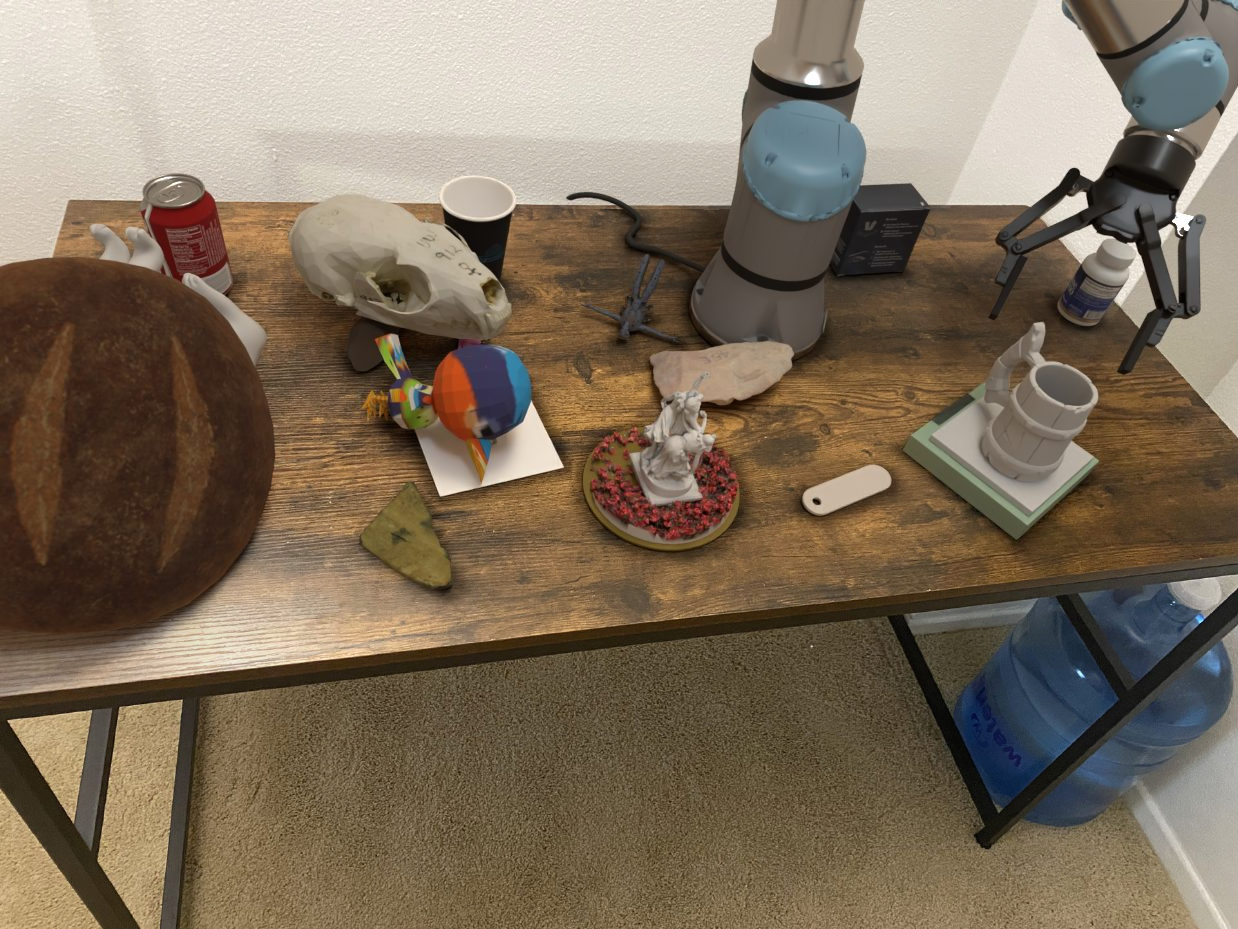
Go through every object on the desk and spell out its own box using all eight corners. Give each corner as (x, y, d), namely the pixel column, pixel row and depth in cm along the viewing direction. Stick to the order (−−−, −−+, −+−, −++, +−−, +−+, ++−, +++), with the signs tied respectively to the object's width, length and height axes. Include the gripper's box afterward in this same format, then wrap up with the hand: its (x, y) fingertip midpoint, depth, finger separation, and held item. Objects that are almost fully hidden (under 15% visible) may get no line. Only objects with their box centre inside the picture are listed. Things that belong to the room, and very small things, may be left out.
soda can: (247, 291, 98) (225, 193, 89) (188, 318, 94) (159, 218, 85) (211, 260, 100) (187, 161, 91) (152, 284, 97) (120, 184, 88)
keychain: (794, 496, 89) (812, 521, 88) (797, 493, 88) (814, 518, 87) (876, 464, 93) (894, 487, 92) (879, 460, 93) (897, 483, 91)
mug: (1003, 490, 89) (1064, 402, 80) (944, 402, 96) (994, 313, 87) (1069, 479, 91) (1136, 393, 82) (1006, 394, 98) (1061, 306, 89)
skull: (454, 397, 85) (454, 307, 78) (260, 292, 92) (244, 202, 85) (542, 326, 94) (549, 240, 87) (359, 236, 101) (353, 150, 94)
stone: (459, 590, 78) (460, 580, 76) (382, 613, 75) (381, 602, 74) (418, 486, 84) (418, 475, 83) (346, 503, 82) (344, 492, 81)
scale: (901, 449, 95) (912, 428, 93) (976, 395, 102) (988, 374, 100) (1016, 540, 89) (1031, 520, 87) (1087, 475, 96) (1103, 455, 94)
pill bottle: (1063, 293, 117) (1103, 228, 110) (1104, 313, 115) (1147, 248, 108) (1050, 313, 114) (1090, 248, 106) (1092, 333, 112) (1135, 269, 105)
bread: (271, 294, 80) (325, 288, 74) (252, 608, 80) (304, 626, 75) (-154, 219, 59) (-126, 202, 53) (-175, 646, 59) (-150, 676, 53)
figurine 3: (707, 420, 94) (738, 311, 84) (762, 536, 85) (806, 432, 75) (565, 438, 90) (579, 327, 79) (607, 563, 81) (630, 456, 70)
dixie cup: (496, 312, 101) (498, 227, 92) (428, 291, 101) (425, 205, 93) (522, 271, 106) (527, 187, 97) (458, 251, 107) (457, 167, 98)
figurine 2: (707, 278, 102) (707, 272, 97) (675, 360, 103) (673, 358, 98) (607, 239, 103) (601, 232, 98) (576, 321, 104) (569, 317, 99)
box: (885, 245, 119) (912, 181, 112) (904, 273, 115) (933, 208, 108) (819, 249, 116) (842, 183, 109) (837, 277, 113) (862, 211, 106)
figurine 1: (432, 277, 96) (394, 361, 89) (429, 306, 100) (393, 389, 93) (371, 259, 96) (329, 342, 89) (371, 289, 100) (330, 371, 93)
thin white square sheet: (439, 496, 83) (439, 486, 82) (405, 405, 90) (404, 394, 89) (564, 467, 88) (565, 457, 86) (522, 382, 94) (523, 371, 93)
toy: (351, 489, 82) (511, 488, 78) (345, 330, 81) (506, 322, 77) (404, 481, 91) (548, 480, 88) (399, 339, 91) (545, 332, 87)
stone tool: (658, 421, 93) (803, 411, 95) (659, 382, 90) (809, 372, 92) (646, 372, 100) (781, 363, 102) (647, 334, 97) (786, 326, 99)
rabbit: (119, 194, 68) (-96, 493, 60) (305, 352, 84) (156, 603, 76) (38, 190, 74) (-166, 461, 66) (227, 338, 90) (81, 569, 82)
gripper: (1271, 207, 93) (1168, 399, 95) (1030, 119, 99) (937, 302, 101) (1306, 184, 85) (1194, 392, 87) (1043, 91, 91) (943, 288, 93)
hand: (1056, 344), depth 94 cm, fingers open, 13 cm apart
